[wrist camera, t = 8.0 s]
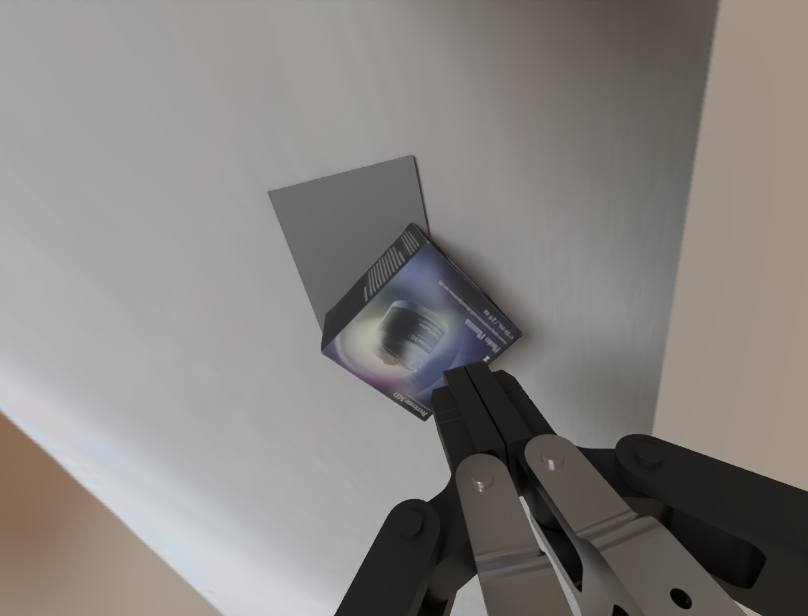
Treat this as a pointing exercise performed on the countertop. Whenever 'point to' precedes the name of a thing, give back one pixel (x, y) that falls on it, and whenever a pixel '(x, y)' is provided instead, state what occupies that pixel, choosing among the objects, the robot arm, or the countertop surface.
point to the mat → (346, 225)
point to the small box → (414, 323)
